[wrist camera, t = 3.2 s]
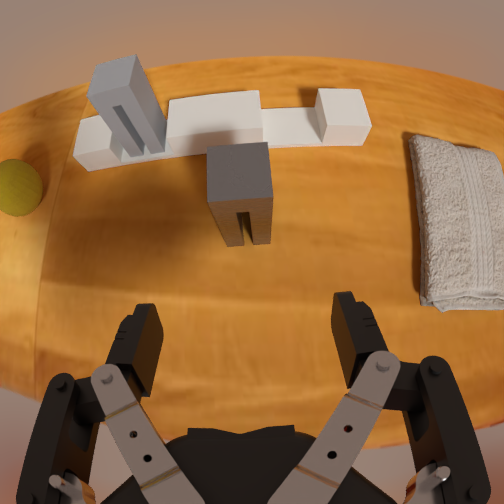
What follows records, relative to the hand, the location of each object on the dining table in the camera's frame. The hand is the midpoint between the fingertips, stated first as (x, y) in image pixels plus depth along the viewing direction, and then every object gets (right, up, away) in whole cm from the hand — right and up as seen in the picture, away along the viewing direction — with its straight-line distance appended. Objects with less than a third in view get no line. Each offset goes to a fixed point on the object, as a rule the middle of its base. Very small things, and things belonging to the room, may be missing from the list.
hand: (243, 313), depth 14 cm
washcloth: (+22, +6, +13) cm, 26 cm away
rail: (-3, +14, +16) cm, 22 cm away
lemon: (-23, +8, +15) cm, 29 cm away
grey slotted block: (0, +5, +13) cm, 14 cm away
